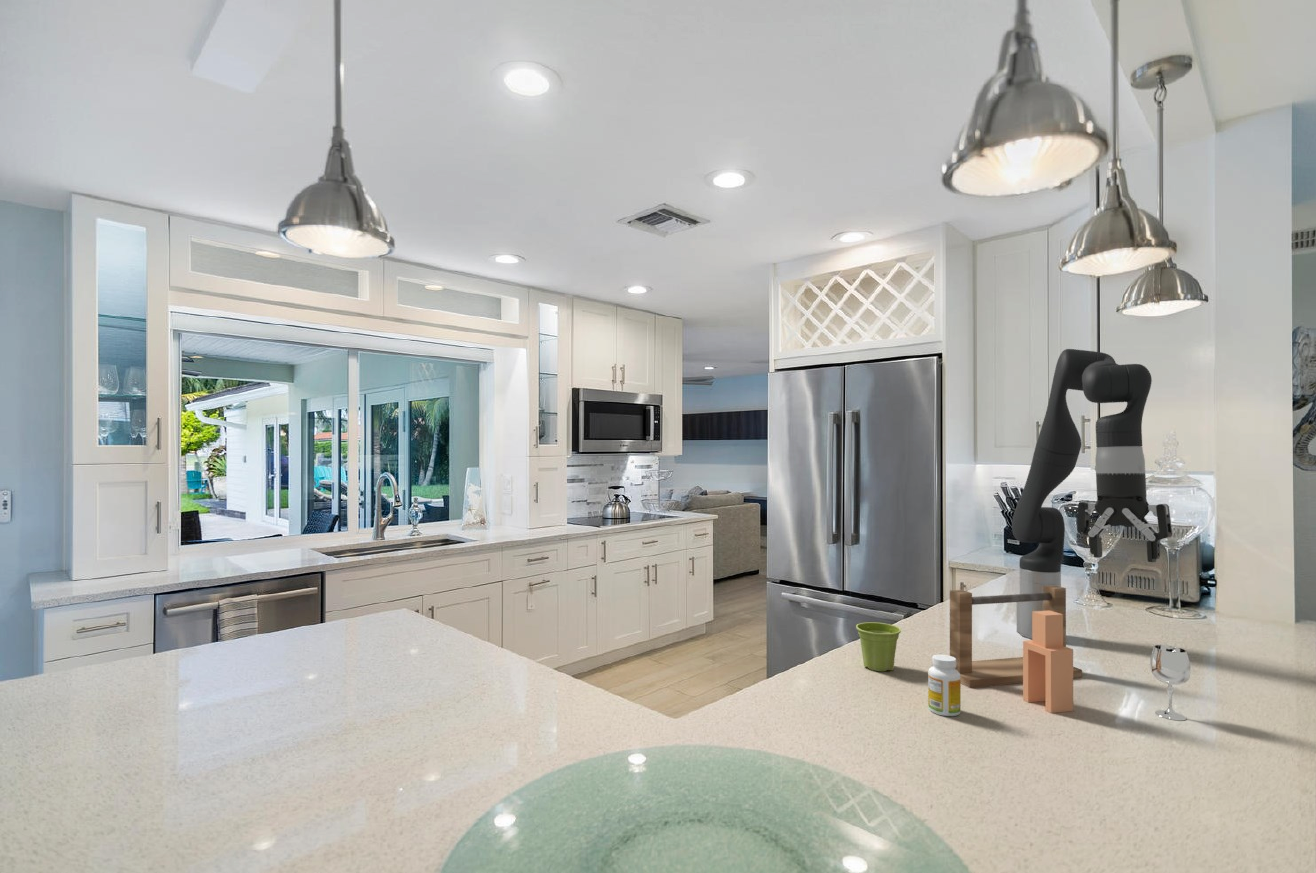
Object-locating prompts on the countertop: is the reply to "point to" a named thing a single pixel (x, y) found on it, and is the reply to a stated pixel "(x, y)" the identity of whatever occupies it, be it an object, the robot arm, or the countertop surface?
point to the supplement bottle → (944, 686)
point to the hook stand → (996, 668)
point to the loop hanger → (1048, 664)
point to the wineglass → (1170, 673)
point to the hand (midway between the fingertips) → (1124, 559)
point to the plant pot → (878, 645)
